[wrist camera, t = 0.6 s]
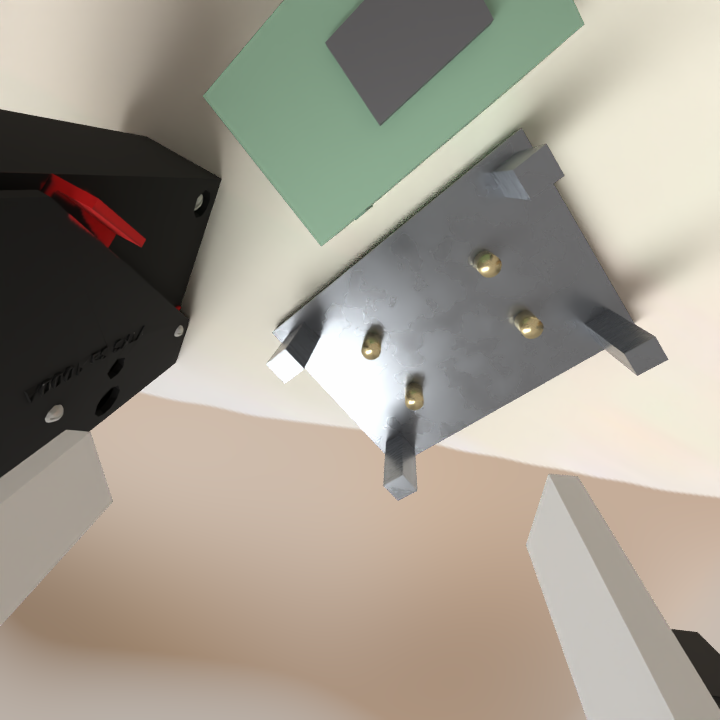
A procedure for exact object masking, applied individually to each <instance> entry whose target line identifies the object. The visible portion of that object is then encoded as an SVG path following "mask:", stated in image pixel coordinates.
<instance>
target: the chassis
mask: <svg viewBox="0 0 720 720" xmlns="http://www.w3.org/2000/svg"><path fill="white" fill-rule="evenodd" d="M563 176H564V174H563V172H562V170H561V169H560V167H559V165H558V163H557V162H556V160H555V158H554V156H553V155H552V153H551V151H550V149H549V147H548V146H547V144H544V145H540V146H536V147H532V145H531V144H530V142H529V140H528V138H527V137H526V135H525V133H524V131H523V130H522V128H521V129H519V130H517V131H516V132H514V133H513V134H512V135H511V136H510V137H508V138H507V139H506V140H505V141H503V142H502V143H501V144H500V145H499V146H497V147H496V148H495V149H494V150H492V151H491V152H490V153H489V154H488V155H486V156H485V157H484V158H483V159H482V160H480V161H479V162H478V163H477V164H475V165H474V166H473V167H472V168H471V169H469V170H468V171H467V172H466V173H465V174H463V175H462V176H461V177H460V178H458V179H457V180H456V181H455V182H454V183H452V184H451V185H450V186H449V187H447V188H446V189H445V190H444V191H443V192H441V193H440V194H439V195H438V196H437V197H435V198H434V199H433V200H432V201H430V202H429V203H428V204H427V205H426V206H424V207H423V208H422V209H421V210H419V211H418V212H417V213H416V214H415V215H413V216H412V217H411V218H410V219H409V220H407V221H406V222H405V223H404V224H402V225H401V226H400V227H399V228H398V229H396V230H395V231H394V232H393V233H392V234H390V235H389V236H388V237H387V238H385V239H384V240H383V241H382V242H381V243H379V244H378V245H377V246H376V247H374V248H373V249H372V250H371V251H370V252H368V253H367V254H366V255H365V256H364V257H362V258H361V259H360V260H359V261H357V262H356V263H355V264H354V265H353V266H351V267H350V268H349V269H348V270H347V271H345V272H344V273H343V274H342V275H340V276H339V277H338V278H337V279H336V280H334V281H333V282H332V283H331V284H329V285H328V286H327V287H326V288H325V289H323V290H322V291H321V292H320V293H319V294H317V295H316V296H315V297H314V298H312V299H311V300H310V301H309V302H308V303H306V304H305V305H304V306H303V307H301V308H300V309H299V310H298V311H297V312H295V313H294V314H293V315H292V316H291V317H289V318H288V319H287V320H286V321H284V322H283V323H282V324H281V325H280V326H278V327H277V328H276V329H275V330H274V331H273V332H272V333H273V334H274V335H275V336H276V337H277V338H278V339H279V341H280V342H281V343H282V344H281V345H280V346H279V348H278V349H277V350H276V352H275V353H274V354H273V356H272V357H271V358H270V360H269V361H268V362H267V366H268V367H269V368H270V369H271V370H272V371H273V372H274V373H275V374H276V375H277V376H278V377H279V378H280V379H281V380H282V381H283V382H284V383H286V382H288V381H289V380H290V379H292V378H293V377H294V376H296V375H297V374H298V373H300V372H301V371H302V370H304V368H305V369H306V370H307V371H308V372H309V373H310V374H311V375H312V376H313V377H314V378H315V379H316V380H317V381H318V383H319V384H320V385H321V386H322V387H323V388H324V389H325V390H326V391H327V392H328V393H329V394H330V395H331V396H332V398H333V399H334V400H335V401H336V402H337V403H338V404H339V405H340V406H341V407H342V408H343V409H344V410H345V412H346V413H347V414H348V415H349V416H350V417H351V418H352V419H353V420H354V421H355V422H356V423H357V424H358V426H359V427H360V428H361V429H362V430H363V431H364V432H365V433H366V434H367V435H368V436H369V437H370V438H371V440H372V441H373V442H374V443H375V444H376V445H377V446H378V447H379V448H380V449H381V450H382V451H383V452H384V453H385V468H384V487H385V488H386V489H387V490H388V491H389V492H390V493H391V494H392V495H393V496H394V497H395V498H396V499H397V500H400V499H402V498H404V497H406V496H408V495H410V494H412V493H414V492H416V491H417V477H416V460H415V455H417V454H419V453H420V452H422V451H424V450H426V449H428V448H429V447H431V446H433V445H435V444H437V443H438V442H440V441H442V440H444V439H446V438H447V437H449V436H451V435H453V434H454V433H456V432H458V431H460V430H462V429H463V428H465V427H467V426H469V425H470V424H472V423H474V422H476V421H478V420H479V419H481V418H483V417H485V416H487V415H488V414H490V413H492V412H494V411H495V410H497V409H499V408H501V407H503V406H504V405H506V404H508V403H510V402H511V401H513V400H515V399H517V398H519V397H520V396H522V395H524V394H526V393H527V392H529V391H531V390H533V389H535V388H536V387H538V386H540V385H542V384H544V383H545V382H547V381H549V380H551V379H552V378H554V377H556V376H558V375H560V374H561V373H563V372H565V371H567V370H568V369H570V368H572V367H574V366H576V365H577V364H579V363H581V362H583V361H584V360H586V359H588V358H590V357H592V356H593V355H595V354H597V353H599V352H600V351H602V350H604V349H605V350H606V351H607V352H609V353H610V354H611V355H612V356H613V357H615V358H616V359H617V360H618V361H620V362H621V363H622V364H623V365H625V366H626V367H627V368H628V369H630V370H631V371H632V372H633V373H635V374H636V375H637V376H638V375H640V374H642V373H643V372H645V371H647V370H649V369H651V368H653V367H655V366H657V365H659V364H661V363H663V362H665V361H666V360H668V358H667V356H666V355H665V353H664V351H663V349H662V347H661V346H660V344H659V342H658V340H657V339H656V337H655V336H653V335H652V334H650V333H648V332H647V331H645V330H643V329H642V328H640V327H638V326H637V325H635V324H634V322H633V320H632V318H631V317H630V315H629V313H628V311H627V310H626V308H625V306H624V305H623V303H622V301H621V299H620V298H619V296H618V294H617V292H616V291H615V289H614V287H613V286H612V284H611V282H610V280H609V279H608V277H607V275H606V273H605V272H604V270H603V268H602V266H601V265H600V263H599V261H598V260H597V258H596V256H595V254H594V253H593V251H592V249H591V247H590V246H589V244H588V242H587V241H586V239H585V237H584V235H583V234H582V232H581V230H580V228H579V227H578V225H577V223H576V221H575V220H574V218H573V216H572V215H571V213H570V211H569V209H568V208H567V206H566V204H565V202H564V201H563V199H562V197H561V196H560V194H559V192H558V190H557V189H556V187H555V185H554V183H555V182H556V181H558V180H559V179H560V178H562V177H563Z"/></svg>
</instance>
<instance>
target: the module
mask: <svg viewBox="0 0 720 720" xmlns="http://www.w3.org/2000/svg"><path fill="white" fill-rule="evenodd" d="M583 25H584V22H583V20H582V18H581V16H580V14H579V12H578V9H577V7H576V5H575V3H574V1H573V0H284V1H283V2H282V3H281V4H280V5H279V6H278V8H277V9H276V10H275V11H274V12H273V14H272V15H271V16H270V17H269V18H268V19H267V21H266V22H265V23H264V24H263V25H262V27H261V28H260V29H259V30H258V31H257V32H256V34H255V35H254V36H253V37H252V38H251V40H250V41H249V42H248V43H247V44H246V45H245V47H244V48H243V49H242V50H241V51H240V53H239V54H238V55H237V56H236V57H235V59H234V60H233V61H232V62H231V63H230V64H229V66H228V67H227V68H226V69H225V70H224V72H223V73H222V74H221V75H220V76H219V77H218V79H217V80H216V81H215V82H214V83H213V85H212V86H211V87H210V88H209V89H208V90H207V92H206V93H205V94H204V95H203V97H204V99H205V100H206V101H207V102H208V104H209V105H210V106H211V107H212V109H213V110H214V111H215V113H216V114H217V115H218V116H219V118H220V119H221V120H222V121H223V123H224V124H225V125H226V126H227V128H228V129H229V130H230V132H231V133H232V134H233V135H234V137H235V138H236V139H237V140H238V142H239V143H240V144H241V145H242V147H243V148H244V149H245V151H246V152H247V153H248V154H249V156H250V157H251V158H252V159H253V161H254V162H255V163H256V164H257V166H258V167H259V168H260V170H261V171H262V172H263V173H264V175H265V176H266V177H267V178H268V180H269V181H270V182H271V183H272V185H273V186H274V187H275V189H276V190H277V191H278V192H279V194H280V195H281V196H282V197H283V199H284V200H285V201H286V202H287V204H288V205H289V206H290V208H291V209H292V210H293V211H294V213H295V214H296V215H297V216H298V218H299V219H300V220H301V221H302V223H303V224H304V225H305V227H306V228H307V229H308V230H309V232H310V233H311V234H312V235H313V237H314V238H315V239H316V240H317V242H318V243H319V244H320V246H322V245H324V244H325V243H326V242H328V241H329V240H330V239H331V238H333V237H334V236H335V235H337V234H338V233H339V232H340V231H342V230H343V229H344V228H345V227H347V226H348V225H349V224H350V223H351V222H353V221H354V220H356V219H358V218H359V217H360V216H361V215H363V214H364V213H365V212H366V211H368V210H369V209H370V208H371V207H372V206H373V204H374V203H375V202H376V201H377V200H379V199H380V198H381V197H382V196H383V195H385V194H386V193H387V192H388V191H389V190H391V189H392V188H393V187H394V186H395V185H396V184H398V183H399V182H400V181H401V180H402V179H404V178H405V177H406V176H407V175H408V174H409V173H411V172H412V171H413V170H414V169H415V168H417V167H418V166H419V165H420V164H421V163H423V162H424V161H425V160H426V159H427V158H428V157H430V156H431V155H432V154H433V153H434V152H436V151H437V150H438V149H439V148H440V147H442V146H443V145H444V144H445V143H446V142H447V141H449V140H450V139H451V138H452V137H453V136H455V135H456V134H457V133H458V132H459V131H460V130H462V129H463V128H464V127H465V126H466V125H468V124H469V123H470V122H471V121H472V120H474V119H475V118H476V117H477V116H478V115H479V114H481V113H482V112H483V111H484V110H485V109H487V108H488V107H489V106H490V105H491V104H493V103H494V102H495V101H496V100H497V99H498V98H500V97H501V96H502V95H503V94H504V93H506V92H507V91H508V90H509V89H510V88H512V87H513V86H514V85H515V84H516V83H517V82H519V81H520V80H521V79H522V78H523V77H524V76H526V75H527V74H528V73H529V72H530V71H531V70H532V69H534V68H535V67H536V66H537V65H538V64H539V63H540V62H542V61H543V60H544V59H545V58H546V57H547V56H548V55H550V54H551V53H552V52H553V51H554V50H555V49H556V48H558V47H559V46H560V45H561V44H562V43H563V42H565V41H566V40H567V39H568V38H569V37H570V36H571V35H573V34H574V33H575V32H576V31H577V30H578V29H579V28H581V27H582V26H583Z"/></svg>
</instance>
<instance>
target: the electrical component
mask: <svg viewBox="0 0 720 720" xmlns="http://www.w3.org/2000/svg"><path fill="white" fill-rule="evenodd" d="M220 182H221V178H219V177H217V176H216V175H214V174H212V173H210V172H209V171H207V170H205V169H203V168H201V167H200V166H198V165H196V164H194V163H193V162H191V161H189V160H187V159H186V158H184V157H182V156H180V155H178V154H177V153H175V152H173V151H171V150H170V149H168V148H166V147H164V146H162V145H161V144H159V143H157V142H155V141H154V140H152V139H150V138H148V137H145V136H140V135H135V134H129V133H124V132H119V131H113V130H108V129H103V128H97V127H92V126H87V125H81V124H76V123H70V122H65V121H60V120H54V119H49V118H44V117H38V116H33V115H28V114H22V113H17V112H12V111H6V110H1V109H0V478H1V477H2V476H4V475H5V474H7V473H8V472H9V471H11V470H12V469H13V468H15V467H16V466H17V465H19V464H20V463H21V462H23V461H24V460H26V459H27V458H28V457H30V456H31V455H32V454H34V453H35V452H36V451H38V450H39V449H41V448H42V447H43V446H45V445H46V444H47V443H49V442H50V441H51V440H53V439H54V438H55V437H57V436H58V435H60V434H61V433H62V432H64V431H65V430H75V431H86V432H89V431H90V430H92V429H93V428H94V427H95V426H97V425H98V424H99V423H100V422H102V421H103V420H104V419H106V418H107V417H108V416H109V415H111V414H112V413H113V412H114V411H116V410H117V409H118V408H119V407H121V406H122V405H123V404H124V403H126V402H127V401H128V400H129V399H131V398H132V397H133V396H134V395H136V394H137V393H138V392H139V391H141V390H142V389H143V388H144V387H146V386H147V385H148V384H150V383H151V382H152V381H153V380H155V379H156V378H157V377H158V376H160V375H161V374H162V373H163V372H165V371H166V370H167V369H168V368H170V367H171V366H172V365H173V364H175V363H176V360H177V357H178V354H179V351H180V348H181V345H182V342H183V339H184V336H185V333H186V330H187V327H188V323H189V319H188V318H187V317H186V316H185V315H183V314H182V313H181V312H180V309H181V307H180V306H181V303H182V299H183V296H184V293H185V290H186V287H187V284H188V281H189V278H190V275H191V272H192V269H193V266H194V262H195V259H196V256H197V253H198V250H199V247H200V244H201V241H202V238H203V235H204V232H205V229H206V225H207V222H208V219H209V216H210V213H211V210H212V207H213V204H214V201H215V198H216V195H217V192H218V188H219V185H220Z"/></svg>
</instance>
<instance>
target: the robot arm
mask: <svg viewBox="0 0 720 720" xmlns="http://www.w3.org/2000/svg"><path fill="white" fill-rule="evenodd" d="M112 502H113V500H112V497H111V494H110V491H109V488H108V485H107V482H106V478H105V475H104V472H103V469H102V466H101V463H100V460H99V457H98V454H97V451H96V448H95V444H94V441H93V438H92V435H91V433H90V432H86V431H75V430H65V431H64V432H62V433H61V434H60V435H58V436H57V437H55V438H54V439H53V440H51V441H50V442H49V443H47V444H46V445H45V446H43V447H42V448H41V449H39V450H38V451H36V452H35V453H34V454H32V455H31V456H30V457H28V458H27V459H26V460H24V461H23V462H21V463H20V464H19V465H17V466H16V467H15V468H13V469H12V470H11V471H9V472H8V473H7V474H5V475H4V476H2V477H1V478H0V626H1V625H2V624H3V623H4V621H5V620H6V619H7V618H8V617H9V616H10V615H11V614H12V613H13V612H14V611H15V609H16V608H17V607H18V606H19V605H20V604H21V603H22V602H23V601H24V599H25V598H26V597H27V596H28V595H29V594H30V593H31V592H32V591H33V589H34V588H35V587H36V586H37V585H38V584H39V583H40V582H41V581H42V580H43V578H44V577H45V576H46V575H47V574H48V573H49V572H50V571H51V570H52V568H53V567H54V566H55V565H56V564H57V563H58V562H59V561H60V560H61V559H62V557H63V556H64V555H65V554H66V553H67V552H68V551H69V550H70V548H71V547H72V546H73V545H74V544H75V543H76V542H77V541H78V540H79V539H80V538H81V536H82V535H83V534H84V533H85V532H86V531H87V530H88V529H89V528H90V526H91V525H92V524H93V523H94V522H95V521H96V520H97V519H98V518H99V517H100V515H101V514H102V513H103V512H104V511H105V510H106V509H107V508H108V507H109V505H110V504H111V503H112ZM526 546H527V549H528V552H529V555H530V557H531V560H532V563H533V566H534V569H535V572H536V575H537V578H538V581H539V583H540V586H541V589H542V592H543V594H544V598H545V600H546V603H547V606H548V609H549V612H550V615H551V618H552V621H553V623H554V626H555V629H556V632H557V635H558V638H559V641H560V644H561V646H562V649H563V652H564V655H565V658H566V661H567V664H568V666H569V669H570V672H571V675H572V678H573V681H574V683H575V687H576V689H577V692H578V695H579V698H580V701H581V704H582V707H583V709H584V712H585V715H586V718H587V720H720V654H719V653H718V652H717V651H716V650H715V649H714V648H713V647H712V646H711V645H710V644H709V643H708V642H707V641H706V640H705V639H704V638H703V637H702V636H701V635H700V634H699V633H697V632H692V631H683V630H675V629H671V628H670V627H669V625H668V624H667V622H666V620H665V619H664V617H663V615H662V614H661V612H660V611H659V609H658V607H657V606H656V604H655V602H654V601H653V599H652V597H651V596H650V594H649V592H648V591H647V589H646V587H645V586H644V584H643V582H642V581H641V579H640V578H639V576H638V574H637V573H636V571H635V569H634V568H633V566H632V564H631V563H630V561H629V559H628V558H627V556H626V555H625V553H624V551H623V550H622V548H621V547H620V545H619V543H618V541H617V540H616V538H615V536H614V535H613V533H612V531H611V530H610V528H609V527H608V525H607V523H606V522H605V520H604V518H603V517H602V515H601V513H600V512H599V510H598V508H597V507H596V505H595V504H594V502H593V500H592V499H591V497H590V495H589V494H588V492H587V490H586V489H585V487H584V485H583V484H582V482H581V481H580V479H579V477H578V476H568V475H557V474H549V475H548V477H547V481H546V484H545V487H544V490H543V493H542V496H541V499H540V503H539V506H538V509H537V512H536V515H535V519H534V522H533V525H532V528H531V531H530V534H529V537H528V540H527V544H526Z"/></svg>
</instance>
